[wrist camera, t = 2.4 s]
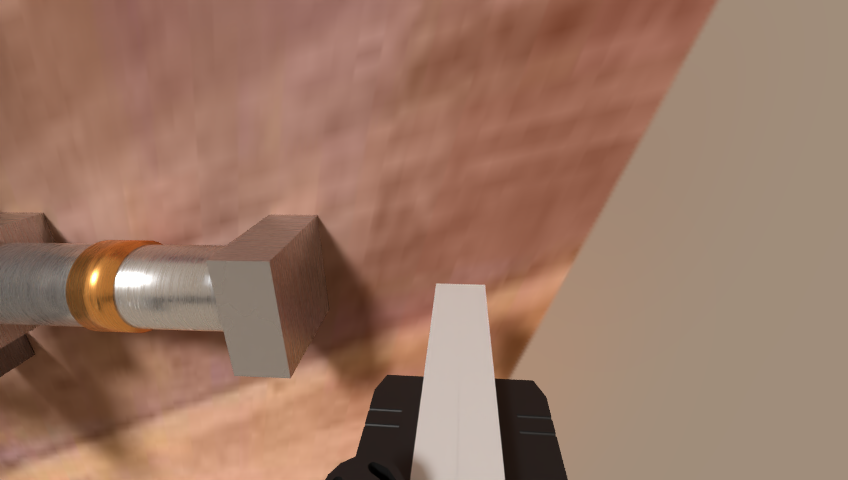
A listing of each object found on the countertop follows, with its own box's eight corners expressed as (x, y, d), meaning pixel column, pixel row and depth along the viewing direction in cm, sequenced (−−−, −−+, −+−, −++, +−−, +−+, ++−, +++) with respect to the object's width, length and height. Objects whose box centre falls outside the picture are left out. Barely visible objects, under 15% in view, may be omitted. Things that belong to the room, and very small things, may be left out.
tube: (40, 300, 19) (-75, 362, 15) (1, 212, 17) (-141, 253, 13) (329, 309, 18) (290, 378, 14) (317, 214, 16) (269, 261, 12)
